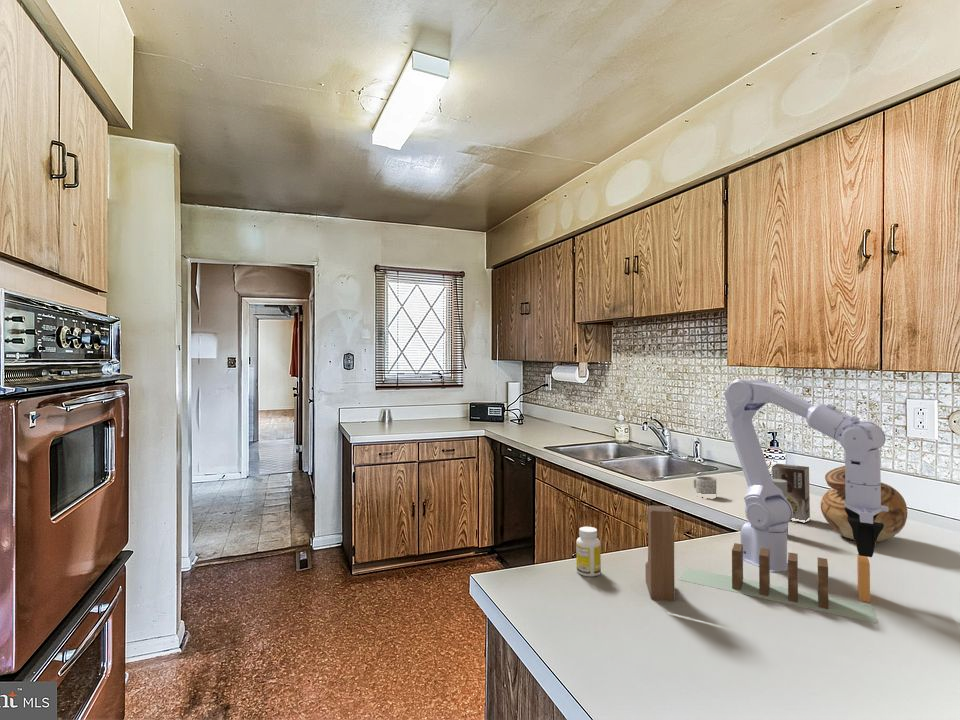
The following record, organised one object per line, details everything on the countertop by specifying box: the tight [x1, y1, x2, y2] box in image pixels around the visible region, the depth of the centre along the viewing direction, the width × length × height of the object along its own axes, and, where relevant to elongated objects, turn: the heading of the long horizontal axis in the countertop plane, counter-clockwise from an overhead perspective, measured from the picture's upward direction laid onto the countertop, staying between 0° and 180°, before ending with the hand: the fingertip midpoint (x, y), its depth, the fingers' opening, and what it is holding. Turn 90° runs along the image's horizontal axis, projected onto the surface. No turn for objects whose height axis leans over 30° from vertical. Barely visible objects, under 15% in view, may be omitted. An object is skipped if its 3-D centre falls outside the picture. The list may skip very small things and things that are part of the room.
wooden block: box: [645, 505, 675, 602], centre depth 104 cm, size 9×4×18 cm, turn 169°
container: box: [772, 479, 789, 536], centre depth 140 cm, size 5×5×15 cm
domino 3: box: [787, 551, 799, 603], centre depth 101 cm, size 2×5×8 cm, turn 147°
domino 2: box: [758, 548, 771, 596], centre depth 104 cm, size 2×5×8 cm, turn 147°
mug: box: [692, 475, 717, 495], centre depth 182 cm, size 10×7×7 cm, turn 13°
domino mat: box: [678, 567, 878, 624], centre depth 103 cm, size 34×8×1 cm, turn 57°
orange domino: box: [856, 553, 871, 603], centre depth 101 cm, size 2×5×8 cm, turn 147°
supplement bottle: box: [575, 526, 602, 577], centre depth 114 cm, size 5×5×10 cm
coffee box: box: [771, 463, 811, 521], centre depth 155 cm, size 9×6×16 cm
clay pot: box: [820, 465, 909, 542], centre depth 136 cm, size 19×19×20 cm
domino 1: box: [731, 542, 744, 590], centre depth 107 cm, size 2×5×8 cm, turn 147°
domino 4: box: [817, 556, 829, 609], centre depth 99 cm, size 2×5×8 cm, turn 147°
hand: (863, 549), depth 102 cm, fingers open, 7 cm apart
